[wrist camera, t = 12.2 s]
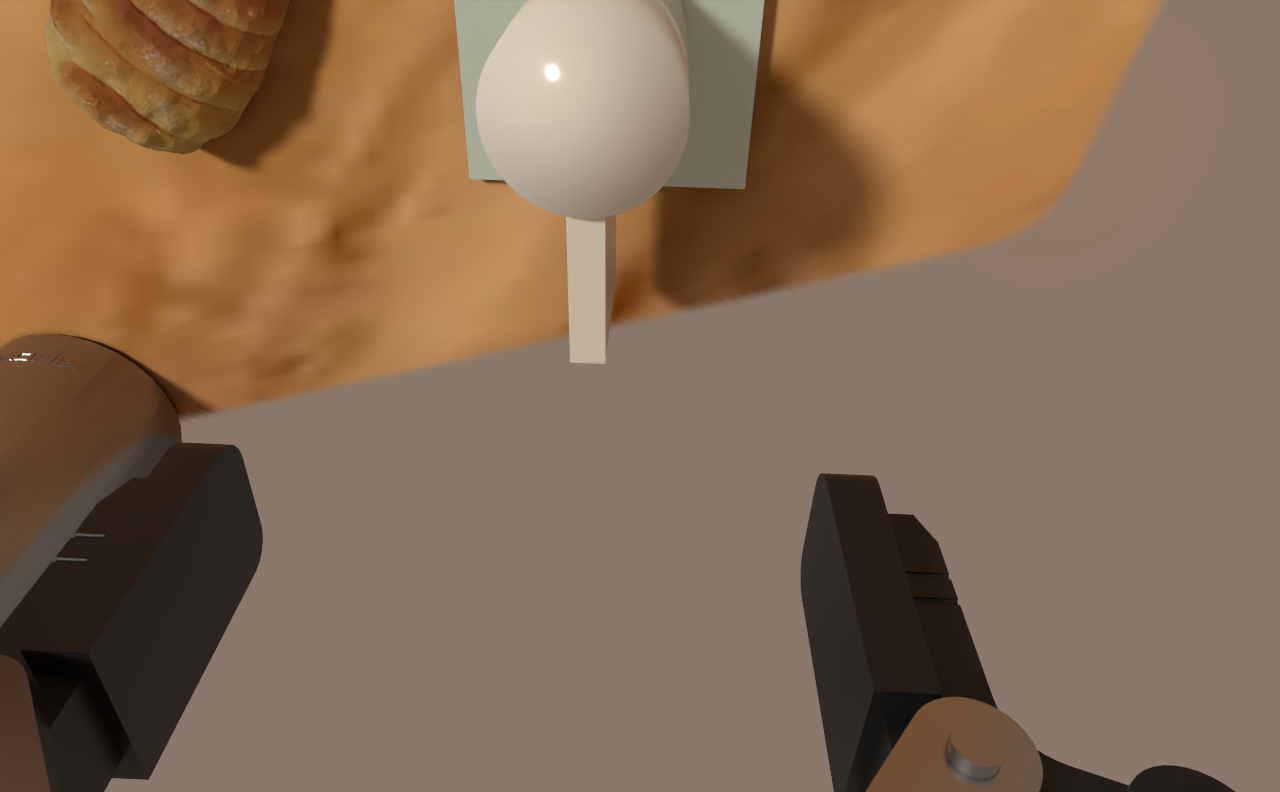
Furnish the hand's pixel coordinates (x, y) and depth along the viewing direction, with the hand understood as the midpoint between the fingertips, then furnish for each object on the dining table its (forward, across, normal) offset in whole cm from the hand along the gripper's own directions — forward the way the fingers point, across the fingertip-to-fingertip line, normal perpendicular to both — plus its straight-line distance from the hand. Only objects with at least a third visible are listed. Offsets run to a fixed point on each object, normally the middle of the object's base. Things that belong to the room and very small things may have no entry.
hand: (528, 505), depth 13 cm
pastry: (+26, +16, 0) cm, 30 cm away
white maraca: (+25, 0, +2) cm, 25 cm away
